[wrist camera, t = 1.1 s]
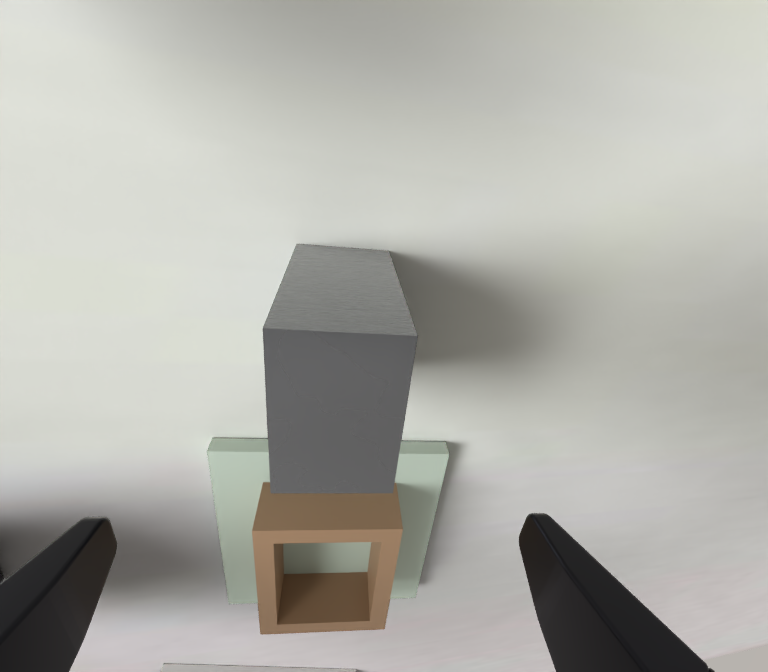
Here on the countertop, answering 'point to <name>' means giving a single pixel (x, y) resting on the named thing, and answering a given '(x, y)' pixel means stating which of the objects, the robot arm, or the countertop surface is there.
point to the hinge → (242, 668)
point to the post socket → (322, 539)
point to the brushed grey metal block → (337, 372)
